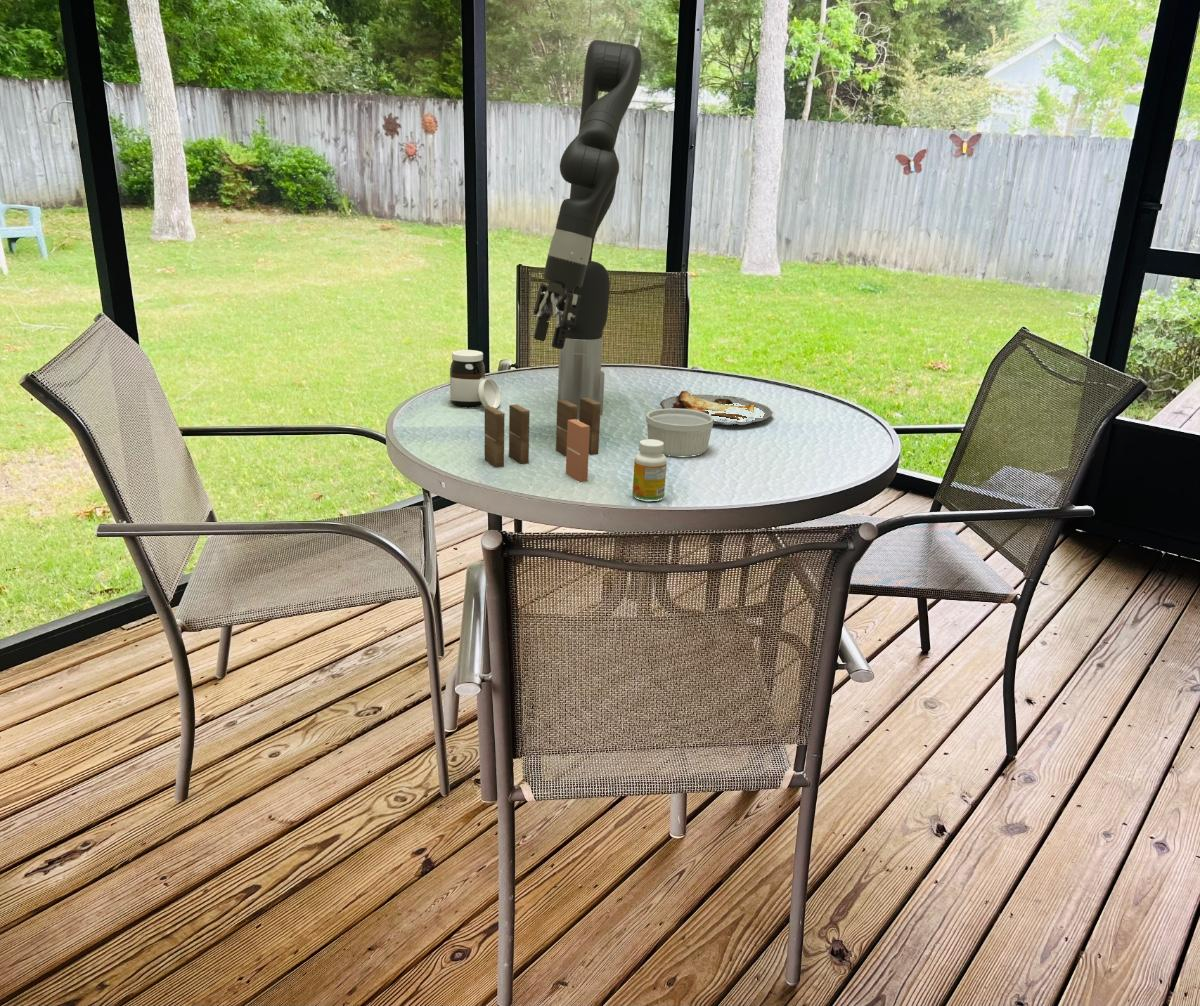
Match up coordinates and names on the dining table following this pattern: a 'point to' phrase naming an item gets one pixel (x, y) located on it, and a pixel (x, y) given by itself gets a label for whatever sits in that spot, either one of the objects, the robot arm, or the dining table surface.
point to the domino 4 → (577, 450)
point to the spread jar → (471, 381)
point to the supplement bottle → (649, 471)
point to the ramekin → (680, 430)
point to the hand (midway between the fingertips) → (547, 344)
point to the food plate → (714, 405)
